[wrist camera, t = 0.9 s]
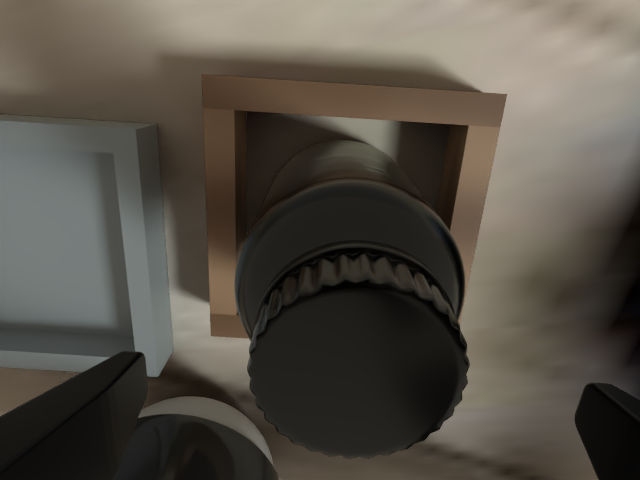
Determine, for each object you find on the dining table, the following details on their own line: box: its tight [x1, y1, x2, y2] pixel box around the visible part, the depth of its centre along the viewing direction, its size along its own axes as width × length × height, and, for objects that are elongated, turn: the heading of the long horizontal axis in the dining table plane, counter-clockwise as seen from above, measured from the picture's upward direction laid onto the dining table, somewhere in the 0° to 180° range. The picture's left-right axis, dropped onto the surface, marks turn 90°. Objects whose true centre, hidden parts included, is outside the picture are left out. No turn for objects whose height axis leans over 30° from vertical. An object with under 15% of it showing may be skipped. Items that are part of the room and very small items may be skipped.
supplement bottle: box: [234, 140, 470, 459], centre depth 14 cm, size 7×7×12 cm
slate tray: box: [0, 114, 173, 377], centre depth 20 cm, size 12×12×2 cm
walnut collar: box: [202, 75, 507, 338], centre depth 19 cm, size 11×11×2 cm
